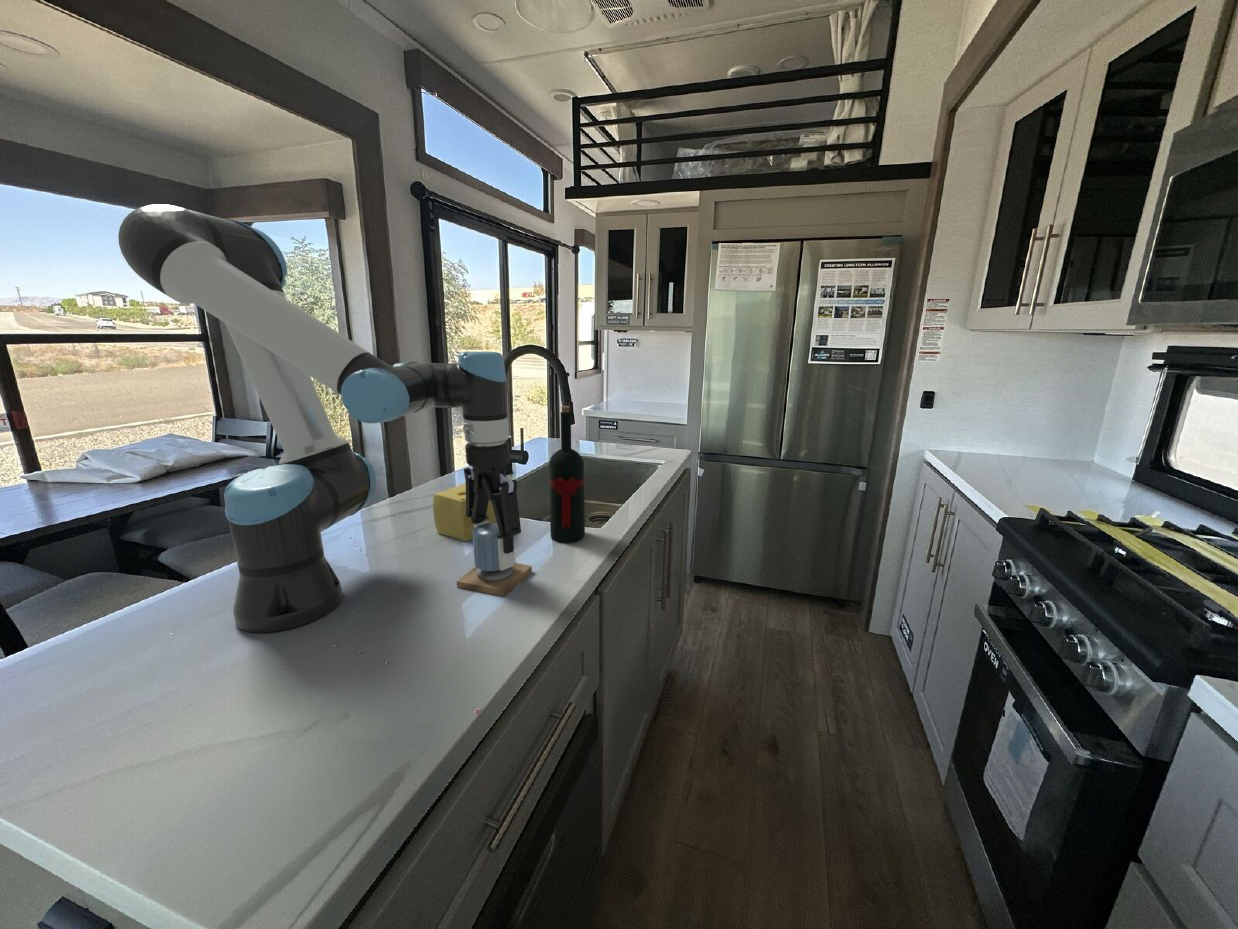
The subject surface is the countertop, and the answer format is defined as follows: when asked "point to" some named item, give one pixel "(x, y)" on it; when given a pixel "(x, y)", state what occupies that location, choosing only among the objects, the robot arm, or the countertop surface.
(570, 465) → the wine bottle
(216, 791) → the countertop surface
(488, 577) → the wooden square stand
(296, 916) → the countertop surface
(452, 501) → the cheese
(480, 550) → the cap
